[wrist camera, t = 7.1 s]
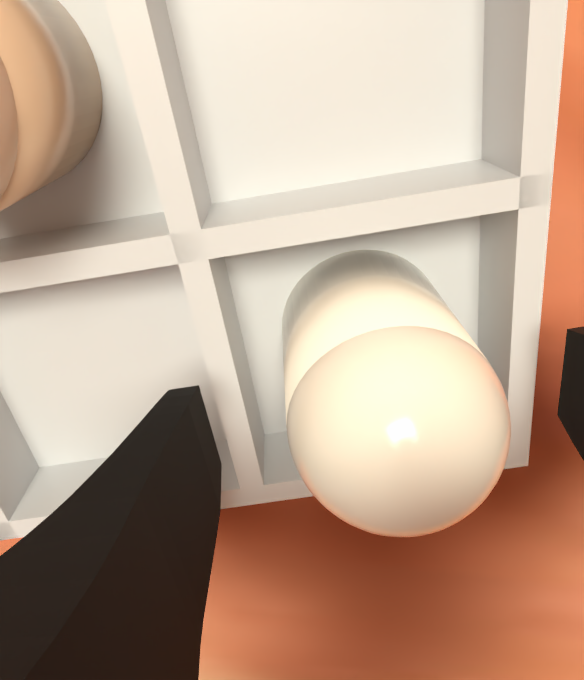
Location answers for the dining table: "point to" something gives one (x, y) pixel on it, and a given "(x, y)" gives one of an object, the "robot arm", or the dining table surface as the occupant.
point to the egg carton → (268, 217)
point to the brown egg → (43, 96)
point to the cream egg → (388, 398)
